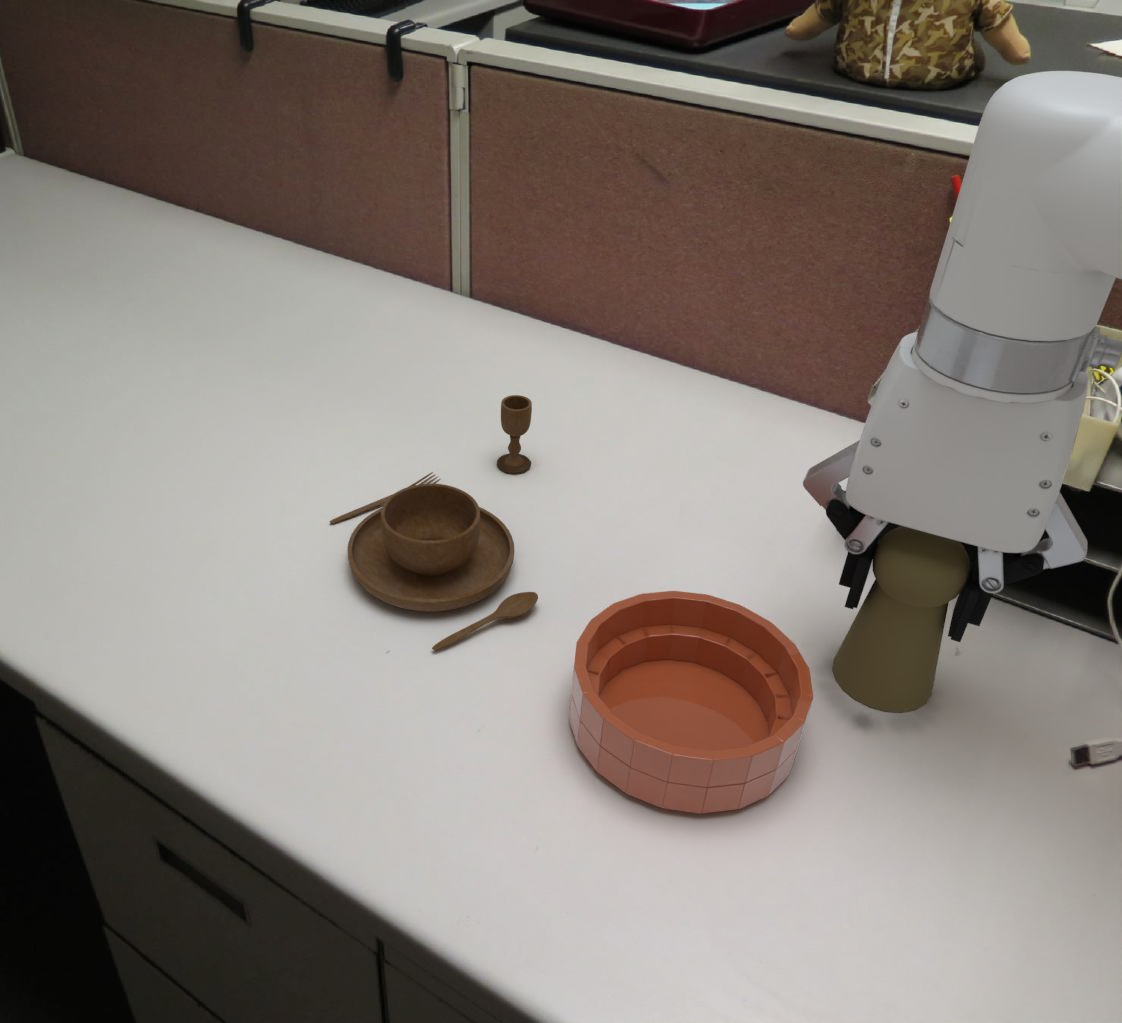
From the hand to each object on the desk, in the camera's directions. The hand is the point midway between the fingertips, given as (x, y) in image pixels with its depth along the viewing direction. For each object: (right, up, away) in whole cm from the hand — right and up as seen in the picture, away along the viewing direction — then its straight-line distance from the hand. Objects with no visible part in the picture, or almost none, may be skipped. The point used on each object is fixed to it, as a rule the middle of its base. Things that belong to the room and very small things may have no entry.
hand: (905, 608), depth 63 cm
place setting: (-25, +3, +15) cm, 30 cm away
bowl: (-14, -7, 0) cm, 15 cm away
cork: (0, -5, +4) cm, 6 cm away
